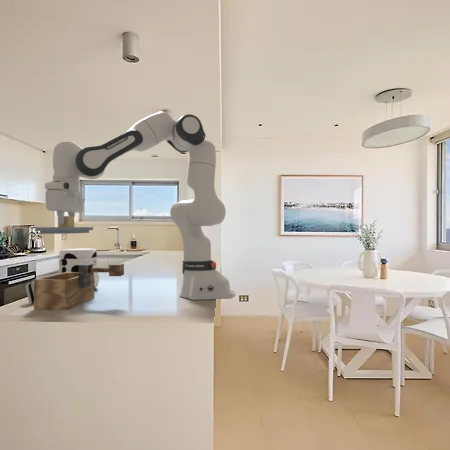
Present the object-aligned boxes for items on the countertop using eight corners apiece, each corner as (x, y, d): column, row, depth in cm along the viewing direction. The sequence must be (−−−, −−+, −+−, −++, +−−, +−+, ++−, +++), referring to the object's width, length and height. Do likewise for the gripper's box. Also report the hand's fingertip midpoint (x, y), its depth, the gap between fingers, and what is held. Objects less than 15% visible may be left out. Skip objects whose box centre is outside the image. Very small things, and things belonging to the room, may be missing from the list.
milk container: (106, 287, 163) (106, 248, 163) (82, 294, 147) (82, 251, 147) (75, 285, 168) (75, 248, 168) (47, 292, 151) (47, 250, 151)
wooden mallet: (123, 274, 130) (123, 263, 130) (119, 276, 126) (119, 265, 126) (95, 274, 131) (94, 263, 131) (90, 276, 127) (90, 264, 127)
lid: (93, 232, 139) (93, 217, 139) (67, 233, 120) (67, 215, 120) (65, 232, 140) (65, 217, 140) (35, 233, 121) (35, 215, 121)
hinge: (42, 304, 128) (33, 278, 129) (30, 308, 129) (21, 282, 129) (66, 295, 145) (58, 272, 145) (56, 298, 145) (48, 275, 146)
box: (101, 297, 139) (101, 261, 139) (76, 309, 119) (76, 267, 119) (64, 297, 140) (64, 261, 140) (33, 309, 120) (33, 267, 120)
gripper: (72, 189, 140) (72, 224, 140) (41, 183, 120) (41, 224, 120) (87, 189, 140) (87, 224, 140) (59, 183, 120) (59, 223, 120)
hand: (66, 224), depth 130 cm, fingers closed on lid, 4 cm apart
